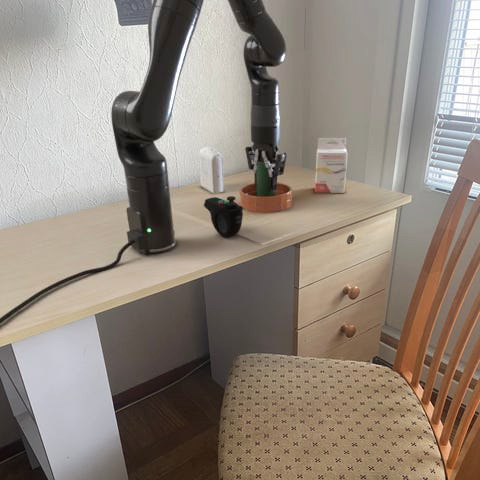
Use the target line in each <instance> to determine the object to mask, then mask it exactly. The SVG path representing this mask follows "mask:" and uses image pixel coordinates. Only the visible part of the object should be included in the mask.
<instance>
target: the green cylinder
mask: <svg viewBox="0 0 480 480" xmlns="http://www.w3.org/2000/svg"><path fill="white" fill-rule="evenodd" d="M272 164H273V162H272V163H270V165H272ZM272 171H273V172H274V170H273V167H272ZM269 177H270V176H269V173H268V169H266V166H265V163H263V162H262V163H258V164H257V197H270V196H275V190H274V191H270V190H269Z"/></svg>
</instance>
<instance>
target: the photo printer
mask: <svg viewBox="0 0 480 480" xmlns="http://www.w3.org/2000/svg"><path fill="white" fill-rule="evenodd" d="M198 162H199V178H200V185H201V187H203V189H205V190H207V191H209V192H210V193H212V194H217V193H218V194H219V193H222V192H224V191H225V179H224V159H223V156H222V155H221V152H219V151H218V150H217V149H216V148H214V147H211V146H204V147H202V148H200V150H199V152H198Z"/></svg>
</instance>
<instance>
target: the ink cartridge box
mask: <svg viewBox="0 0 480 480" xmlns="http://www.w3.org/2000/svg"><path fill="white" fill-rule="evenodd" d="M331 142H333V143H335V144H333V143H331ZM347 165H348V150H347V138H346V137H319V138H318V139H317V149H316V161H315V177H314V178H315V181H314V191H315V193H329V194H345V189H346V176H347Z"/></svg>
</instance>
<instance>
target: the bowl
mask: <svg viewBox="0 0 480 480" xmlns="http://www.w3.org/2000/svg"><path fill="white" fill-rule="evenodd" d="M292 205H293V188H292V186H290V185H288V184H286V183H283V182H277V188H276V190H275V196H270V197H257V187H256V186H255V182H252V183H248V184H245V185H243V186H241V187H240V188H239V206H242V207H243V210H245V211H248V212H252V213H253V212H254V213H264V214H265V213H276V212H282V211H284V210H287V209H289V208H291V207H292Z"/></svg>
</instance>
